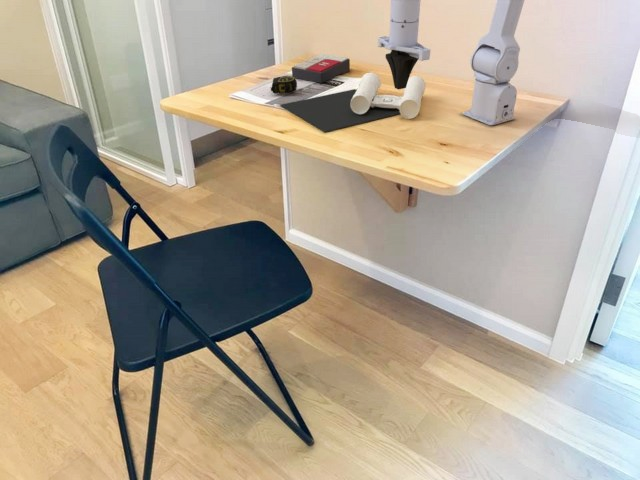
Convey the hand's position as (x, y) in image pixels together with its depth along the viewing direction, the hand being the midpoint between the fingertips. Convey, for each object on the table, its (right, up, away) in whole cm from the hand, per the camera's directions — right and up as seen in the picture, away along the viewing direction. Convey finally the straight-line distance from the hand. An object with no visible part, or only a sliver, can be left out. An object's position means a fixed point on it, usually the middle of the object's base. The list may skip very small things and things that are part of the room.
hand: (400, 88), depth 112 cm
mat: (-12, 0, +20) cm, 23 cm away
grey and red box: (-17, +17, +46) cm, 52 cm away
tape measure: (-28, +8, +32) cm, 43 cm away
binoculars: (-2, -1, +12) cm, 12 cm away
